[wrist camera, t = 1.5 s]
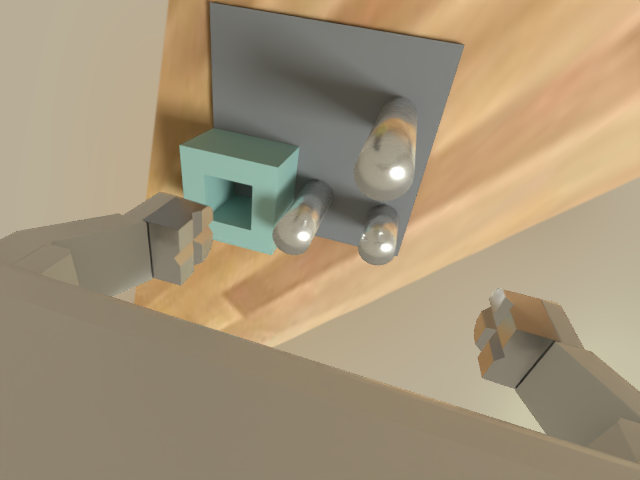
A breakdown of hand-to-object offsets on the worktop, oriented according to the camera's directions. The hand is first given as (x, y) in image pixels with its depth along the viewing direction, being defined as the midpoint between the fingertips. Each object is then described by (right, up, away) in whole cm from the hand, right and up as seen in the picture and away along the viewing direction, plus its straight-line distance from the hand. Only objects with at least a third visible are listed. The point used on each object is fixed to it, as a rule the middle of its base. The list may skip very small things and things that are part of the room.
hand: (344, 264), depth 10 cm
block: (-8, +7, +27) cm, 29 cm away
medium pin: (-1, +5, +26) cm, 27 cm away
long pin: (+6, +11, +20) cm, 24 cm away
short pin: (+6, +3, +26) cm, 27 cm away
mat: (-1, +10, +24) cm, 26 cm away
